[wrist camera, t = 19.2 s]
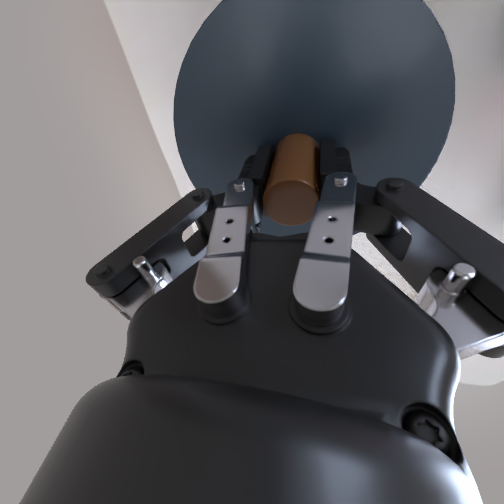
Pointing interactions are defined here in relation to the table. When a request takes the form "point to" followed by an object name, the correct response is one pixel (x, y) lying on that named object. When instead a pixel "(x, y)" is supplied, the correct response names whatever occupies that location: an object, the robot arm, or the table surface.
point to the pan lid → (313, 96)
